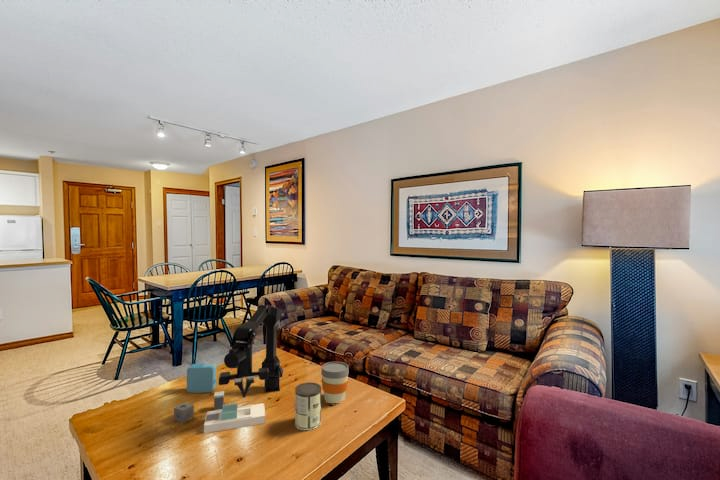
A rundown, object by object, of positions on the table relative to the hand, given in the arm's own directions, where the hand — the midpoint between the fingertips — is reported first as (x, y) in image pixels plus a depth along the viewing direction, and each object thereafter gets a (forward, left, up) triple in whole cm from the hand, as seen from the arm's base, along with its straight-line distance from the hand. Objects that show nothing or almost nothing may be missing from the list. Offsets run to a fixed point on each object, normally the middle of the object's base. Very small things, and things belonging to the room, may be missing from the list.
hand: (244, 397), depth 132 cm
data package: (+19, -32, -10) cm, 39 cm away
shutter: (+5, 0, -6) cm, 8 cm away
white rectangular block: (+10, -12, -9) cm, 18 cm away
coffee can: (-24, +10, -10) cm, 28 cm away
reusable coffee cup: (-39, -5, -10) cm, 40 cm away
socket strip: (+3, 0, -9) cm, 10 cm away
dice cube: (+23, -9, -10) cm, 26 cm away
